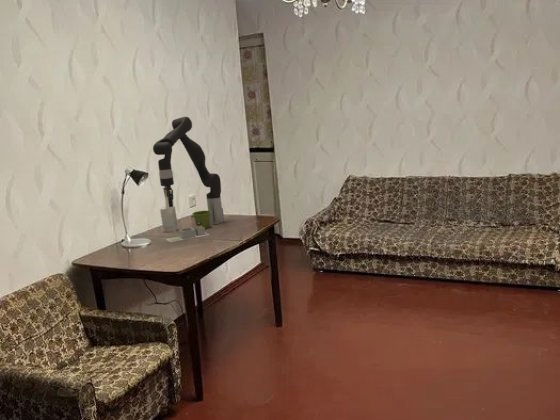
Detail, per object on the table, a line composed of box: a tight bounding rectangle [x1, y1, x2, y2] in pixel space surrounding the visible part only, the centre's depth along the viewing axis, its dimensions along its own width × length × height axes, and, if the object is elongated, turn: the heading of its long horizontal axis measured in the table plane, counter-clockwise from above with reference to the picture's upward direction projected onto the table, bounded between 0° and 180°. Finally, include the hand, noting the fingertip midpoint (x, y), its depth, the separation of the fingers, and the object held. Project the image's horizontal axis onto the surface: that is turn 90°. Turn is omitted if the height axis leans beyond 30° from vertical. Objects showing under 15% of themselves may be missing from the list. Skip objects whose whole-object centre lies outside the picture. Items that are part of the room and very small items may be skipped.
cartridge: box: [164, 194, 174, 215], centre depth 306 cm, size 5×5×12 cm
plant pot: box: [192, 210, 211, 229], centre depth 334 cm, size 12×12×11 cm
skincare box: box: [159, 205, 179, 234], centre depth 338 cm, size 8×7×16 cm
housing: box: [165, 227, 210, 243], centre depth 314 cm, size 24×10×6 cm, turn 115°
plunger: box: [195, 222, 203, 229], centre depth 316 cm, size 4×4×7 cm
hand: (170, 206), depth 307 cm, fingers closed on cartridge, 4 cm apart
